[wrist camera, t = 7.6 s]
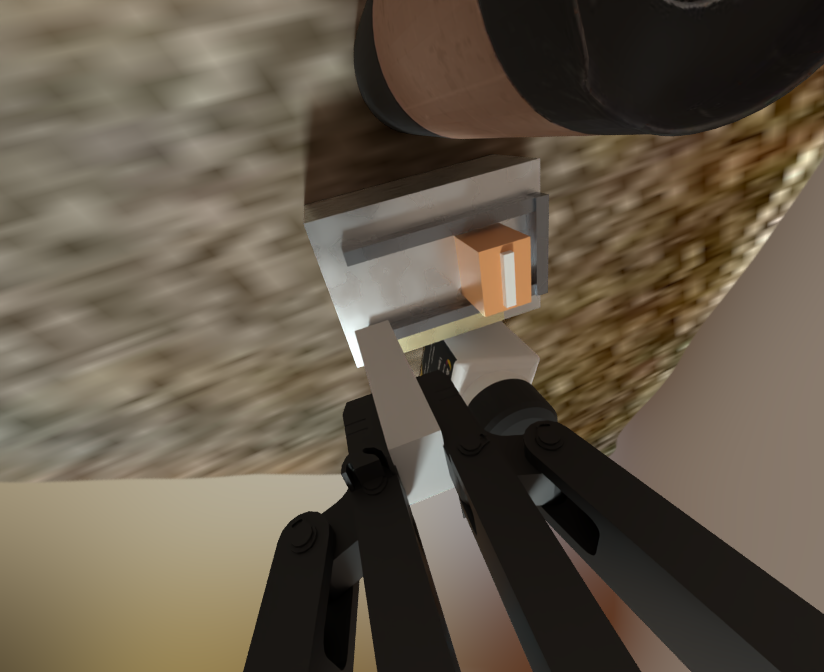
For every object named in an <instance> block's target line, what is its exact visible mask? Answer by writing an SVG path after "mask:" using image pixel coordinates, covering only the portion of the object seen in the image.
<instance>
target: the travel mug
mask: <svg viewBox="0 0 824 672" xmlns="http://www.w3.org/2000/svg"><path fill="white" fill-rule="evenodd" d="M823 64H824V0H367V2H366V5H365V8H364V11H363V14H362V17H361V20H360V23H359V27H358V30H357V34H356V39H355V45H354V69H355V76H356V80H357V84H358V87H359V90H360V92H361V95H362V97H363V99H364V101H365V103H366V104H367V106H368V107H369V109H370V110H371V111H372V113H373V114H374V115H375V116H376V117H377V118H378V119H379V120H380V121H381V122H382V123H384V124H385V125H386V126H388V127H390V128H392V129H394V130H397V131H399V132H403V133H408V134H414V135H424V136H434V137H444V138H457V139H471V138H512V137H552V136H592V135H635V134H653V135H659V136H682V135H690V134H696V133H700V132H704V131H708V130H712V129H716V128H719V127H722V126H725V125H728V124H731V123H733V122H736V121H738V120H740V119H742V118H745V117H747V116H749V115H751V114H753V113H755V112H757V111H759V110H762V109H763V108H765V107H767V106H768V105H770V104H771V103H773V102H775V101H776V100H778V99H780V98H781V97H783V96H785V95H786V94H787V93H789V92H790V91H791V90H793V89H794V88H795V87H797V86H798V85H799V84H800V83H802V82H803V81H804V80H806V79H807V78H808V77H809V76H811V75H812V74H813V73H814V72H815V71H816V70H817V69H818V68H820V67H821V66H822V65H823Z"/></svg>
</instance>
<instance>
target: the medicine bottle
mask: <svg viewBox="0 0 824 672" xmlns="http://www.w3.org/2000/svg"><path fill="white" fill-rule="evenodd" d="M539 360H540V358H539V356H538V355H537V354H536V353H535V352H534V351H533V350H532V349H531V348H529V347H528V346H527V345H526V344H525V343H524V342H523V341H522V340H521V339H520V338H519V337H518V336H517V335H516V334H515V333H513V332H512V331H511V330H510V329H509V328H508V327H507V326H506V325H505V324H504V323H503V322H502V321H499V322H496V323H493V324H490V325H487V326H484V327H481V328H478V329H475V330H472V331H469V332H466V333H463V334H460V335H457V336H454V337H451V338H448V339H445V340H441V341H438V342H435V343H432V344H429V345H426V346H424V353H423V360H422V367H421V374H420V376H421V375H424V374H427V373H429V372H432V371H435V370H440V371H442V372H443V373H445V374H446V375H448V376H449V377H450V379H451V381H452V382H453V384H454V386H455V387H456V389H457V390H458V392H459V394H460V395H461V397H462V398H463V400H464V402H465V403H466V405H467V406H468V408H469V410H470V411H471V413H472V414H473V416H474V418H475V419H476V421H477V423H478V424H479V425H480V426H481V427H482V428H483V429H484V430H486V431H487V432H490V433H492V434H495V435H500V436H509V435H522V434H524V433H525V430H526V429H527V428H528V427H529V425H530V424H533V423H535V422H537V421H544V420H549V421H554V422H557V414H556V412H555V410H554V409H553V407H552V406H551V405H550V404H549V403H548V402H547V401H546V400H545V399H544V398H543V397H542V395H541V394H540V393H539V392H538V391H537V390H536V389H535V388H534V387H533V386H532V385H531V384H532V381H533V378H534V375H535V372H536V369H537V366H538V363H539Z"/></svg>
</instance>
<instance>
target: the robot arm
mask: <svg viewBox="0 0 824 672" xmlns="http://www.w3.org/2000/svg"><path fill="white" fill-rule="evenodd" d="M355 335H356V338H357V342H358V345H359V349H360V352H361V356H362V359H363V363H364V367H365V370H366V374H367V377H368V381H369V384H370V388H371V391H372V394H370V395H367V396H364V397H361V398H358V399H355V400H352V401H350V402H347V403H346V406H345V409H344V412H343V420H344V426H345V433H346V439H347V445H348V452H349V455H348V456H347V457H346V458H345V460H344V462H343V464H342V469H341V475H342V477H343V479H344V480H345V482H346V484H347V486H348V490H347V492H346V493H345V494H344V496H343V497H342V498H341V499H340V500H339V501H338V502H337V503H336V504H334V505H333V506H332V507H330V508H329V509H328V510H326V511H325V512H323V513H322V514H320V513H319V512H312V511H311V512H310V511H308V512H306V513H303V514H300V515H298V516H297V517H295V518H294V519H293V520H291V521H290V522H289V523H288V525H287V526H286V527H285V528H284V530H283V531H282V533H281V536H280V538H279V540H278V543H277V547H276V550H275V554H274V558H273V562H272V565H271V569H270V573H269V577H268V580H267V584H266V588H265V592H264V595H263V599H262V603H261V607H260V610H259V614H258V618H257V622H256V625H255V630H254V633H253V637H252V640H251V644H250V648H249V652H248V656H247V659H246V663H245V667H244V671H243V672H353V664H354V650H355V636H356V621H357V608H358V593H359V580H360V579H361V578H362V577H363V578H364V585H365V592H366V598H367V605H368V612H369V619H370V625H371V632H372V639H373V645H374V652H375V659H376V665H377V672H461V671H460V667H459V664H458V661H457V658H456V654H455V651H454V648H453V645H452V641H451V638H450V634H449V631H448V628H447V624H446V621H445V618H444V615H443V611H442V608H441V605H440V601H439V598H438V595H437V592H436V588H435V585H434V582H433V579H432V575H431V572H430V569H429V565H428V562H427V559H426V555H425V552H424V549H423V546H422V542H421V539H420V536H419V533H418V529H417V526H416V523H415V520H414V517H413V515H412V512H411V508H410V505H412V504H415V503H417V502H419V501H422V500H424V499H427V498H429V497H432V496H434V495H437V494H439V493H442V492H444V491H447V490H449V489H452V488H454V486H455V488H456V491H457V493H458V495H459V500H460V504H461V509H462V513H463V517H464V518H467V520H468V523H469V525H470V527H471V530H472V532H473V535H474V537H475V539H476V541H477V544H478V546H479V548H480V551H481V553H482V555H483V558H484V560H485V562H486V564H487V567H488V569H489V571H490V573H491V576H492V578H493V581H494V583H495V585H496V587H497V590H498V592H499V595H500V597H501V599H502V601H503V604H504V606H505V608H506V611H507V613H508V615H509V618H510V620H511V622H512V625H513V627H514V629H515V631H516V634H517V636H518V638H519V641H520V643H521V645H522V648H523V650H524V652H525V654H526V657H527V659H528V661H529V664H530V666H531V668H532V671H533V672H641V671H640V669H639V668H638V666H637V664H636V663H635V661H634V660H633V658H632V656H631V655H630V653H629V652H628V650H627V649H626V647H625V645H624V644H623V642H622V641H621V639H620V637H619V636H618V634H617V633H616V631H615V630H614V628H613V626H612V625H611V623H610V622H609V620H608V619H607V617H606V615H605V614H604V612H603V611H602V609H601V607H600V606H599V604H598V603H597V601H596V600H595V598H594V596H593V595H592V593H591V592H590V590H589V589H588V587H587V585H586V584H585V582H584V581H583V579H582V577H581V576H580V574H579V573H578V571H577V570H576V568H575V567H574V565H573V563H572V562H571V560H570V559H569V557H568V556H567V554H566V552H565V551H564V549H563V547H562V546H561V544H560V543H559V541H558V540H557V538H556V537H555V535H554V533H553V532H552V530H551V529H550V527H549V525H548V524H547V522H548V523H549V524H550V525H551V526H552V527H553V528H554V530H555V531H556V532H557V533H558V534H559V535H560V536H561V537H562V538H563V539H564V540H565V541H566V542H567V543H568V544H569V545H570V546H571V547H572V548H573V549H574V550H575V551H576V552H577V553H578V554H579V555H580V557H581V558H582V559H583V560H584V561H585V562H586V563H587V564H588V565H589V566H590V567H591V568H592V569H593V570H594V571H595V572H596V573H597V574H598V575H599V576H600V577H601V578H602V579H603V580H604V582H605V583H606V584H607V585H608V586H609V587H610V588H611V589H612V590H613V591H614V592H615V593H616V594H617V595H618V596H619V597H620V598H621V599H622V600H623V601H624V602H625V603H626V604H627V605H628V606H629V608H631V610H632V611H633V612H634V613H635V614H636V615H637V616H638V617H639V618H640V619H641V620H642V621H643V622H644V623H645V624H646V625H647V626H648V627H649V628H650V629H651V630H652V631H653V632H654V633H655V634H656V635H657V637H658V638H660V640H661V641H662V642H663V643H664V644H665V645H666V646H667V647H668V648H669V649H670V650H671V651H672V652H673V653H674V654H675V655H676V656H677V657H678V658H679V659H680V660H681V661H682V662H683V664H685V665H686V667H687V668H688V669H689V670H690V671H691V672H824V614H822V613H821V612H820V611H819V610H817V609H816V608H815V607H813V606H812V605H810V604H809V603H808V602H806V601H805V600H803V599H802V598H801V597H799V596H798V595H797V594H795V593H794V592H792V591H791V590H790V589H788V588H787V587H786V586H784V585H783V584H782V583H780V582H779V581H777V580H776V579H775V578H773V577H772V576H771V575H769V574H768V573H766V572H765V571H764V570H762V569H761V568H760V567H758V566H757V565H756V564H754V563H753V562H751V561H750V560H749V559H747V558H746V557H745V556H743V555H742V554H740V553H739V552H738V551H736V550H735V549H733V548H732V547H731V546H729V545H728V544H727V543H725V542H724V541H723V540H721V539H719V538H718V537H717V536H716V535H714V534H713V533H711V532H710V531H709V530H707V529H706V528H705V527H703V526H702V525H700V524H699V523H698V522H696V521H695V520H694V519H692V518H691V517H690V516H688V515H687V514H685V513H684V512H683V511H681V510H680V509H679V508H677V507H676V506H674V505H673V504H672V503H670V502H669V501H668V500H666V499H665V498H663V497H662V496H661V495H659V494H658V493H657V492H655V491H654V490H652V489H651V488H649V487H648V486H647V485H646V484H644V483H643V482H641V481H640V480H639V479H637V478H636V477H635V476H633V475H632V474H630V473H629V472H628V471H626V470H625V469H624V468H622V467H621V466H619V465H618V464H617V463H615V462H614V461H613V460H611V459H610V458H608V457H607V456H606V455H604V454H603V453H602V452H600V451H599V450H598V449H596V448H595V447H593V446H592V445H591V444H589V443H588V442H587V441H585V440H584V439H582V438H581V437H580V436H578V435H577V434H576V433H574V432H573V431H571V430H570V429H569V428H567V427H566V426H564V425H562V424H560V423H558V422H554V421H549V420H544V421H537V422H535V423H533V424H530V425H529V427H528V428H527V429H526V430H525V433H524V434H522V435H509V436H500V435H495V434H492V433H490V432H487V431H486V430H484V429H483V428H482V427H481V426H480V425H479V424H478V423H477V421H476V419H475V418H474V416H473V414H472V413H471V411H470V410H469V408H468V406H467V405H466V403H465V402H464V400H463V398H462V397H461V395H460V394H459V392H458V390H457V389H456V387H455V386H454V384H453V382H452V381H451V379H450V377H449V376H448V375H446V374H445V373H443V372H442V371H440V370H435V371H432V372H429V373H427V374H424V375H421V376H418V377H415V375H414V373H413V371H412V369H411V367H410V365H409V363H408V361H407V359H406V356H405V354H404V352H403V350H402V348H401V346H400V344H399V342H398V340H397V338H396V336H395V333H394V331H393V329H392V327H391V325H390V323H389V321H388V320H386V321H383V322H380V323H377V324H374V325H371V326H368V327H365V328H362V329H359V330H356V331H355ZM453 484H454V485H453ZM545 520H546V521H547V522H546V521H545Z"/></svg>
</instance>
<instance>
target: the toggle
mask: <svg viewBox="0 0 824 672" xmlns="http://www.w3.org/2000/svg"><path fill="white" fill-rule="evenodd" d="M454 239H455V246H456V253H457V260H458V267H459V274H460V282H461V289H462V295H463V296H464V297H465V298H466V299H467V300H468V301H469V302H470V303H471V304H472V305H473V306H474V307H475V308H476V309H477V310H478V311H479V312H480V313H481V314H482V315H483V316H484V317H488V316H491V315H494V314H497V313H500V312H503V311H506V310H509V309H512V308H515V307H518V306H521V305H524V304H527V303H530V302H531V245H530V236H528V235H526V234H523V233H521V232H519V231H517V230H514V229H512V228H510V227H507V226H505V225H503V224H501V223H497V224H494V225H491V226H487V227H484V228H481V229H477V230H474V231H470V232H467V233H464V234H460V235H457V236H454Z"/></svg>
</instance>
